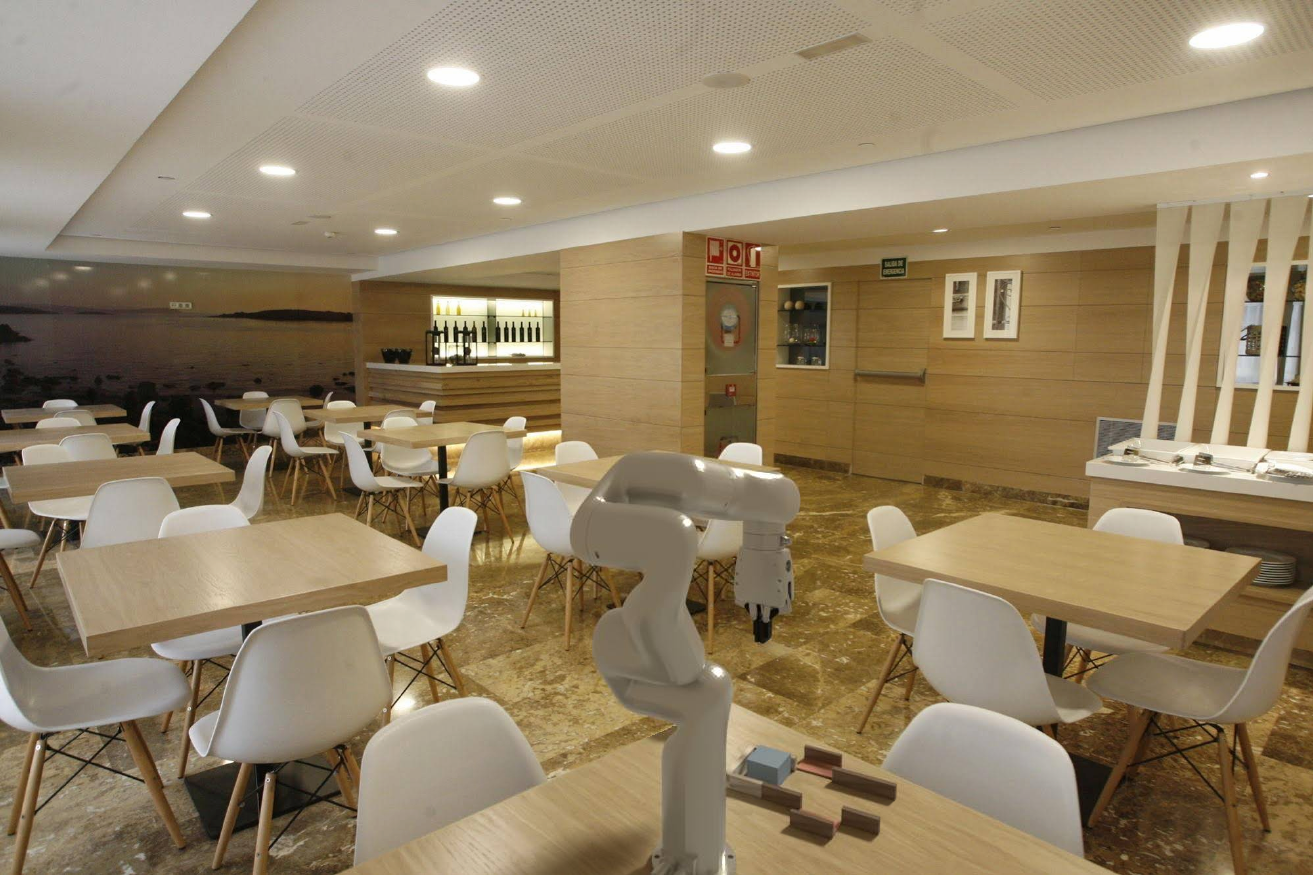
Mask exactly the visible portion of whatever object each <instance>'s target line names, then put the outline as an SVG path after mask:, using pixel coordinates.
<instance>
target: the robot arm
mask: <svg viewBox="0 0 1313 875" xmlns="http://www.w3.org/2000/svg"><path fill="white" fill-rule="evenodd" d="M800 508H801V494H800V491H799V488H798V486H797V484H796V483H795V482H794V481H793V480H792V479H791V478H789V477H785V475H784V474H783V473H781V472H778V471H773V470H752V469H747V468H745V467H740V466H735V465H734V466H733V465H729V464H724V463H721V462H716V461H713V460H708V459H706V458H703V457H700V456H697V455H693V454H688V453H681V452H680V453H679V452H678V453H677V452H661V451H660V452H658V451H645V450H635V451H631V452H629V453H627V454H625V455H623V456H622V457H621V458H619V459H618V460H617V461H616V462H615V463H614V464H612V466H611V467H610V468H609V469H608V470H607V471H606V473H605V474H604V475H603V476H602V477H601V478H600V480H599V481H598V482H597V484H596V485H595V487H593V489H592V490H591V491H590V493H589V494H588V495H587V496H586V497H585V499H584V500H583V501H582V502H581V504H580V505H579V506H578V509H577V510H576V512H575V514H574V515H573V518H572V521H571V525H570V529H569V542H570V543H569V544H570V546H571V547H570V548H571V550H572V551H573V553H574V555H575V556H576V557H577V558H578V559H579V560H580V561H582V562H584V563H585V564H589V565H593V566H597V567H604V568H611V569H615V570H616V569H617V570H625V571H631V572H639V573H643V574H644V575H643V578H642V579H641V580H642V581H640V582H639V583H638V584H637V585H635V587H634V588H632V590H631V591H630V593H629V594H628V595H627V597H626V599H625V600H624V602H623V605H622V607H615V608H612V609H610V610H608V611H606V612H605V613H604V614H603V615H602V616H601V617H600V618H599V620H598V621H597V623H596V625H595V627H594V631H593V633H592V634H593V635H592V643H591V646H592V647H591V648H592V657H593V662H594V664H595V666H596V667H595V668H596V669H597V671H598V673H599V674H600V676H601V678H602V679H603V681H604V682H605V683H606V685H607V687H608V688H609V690H610V692H612V694H613V696H614V697H615V699H616V700H617V702H618V703H619V705H621V706H622V707H623V708H624V709H626V711H627V710H628V711H630V712H632V713H635V714H637V715H642V716H645V717H651V718H654V719H658V720H663V721H665V722H668V723H672V724H673V725H675V726H676V728H677V729H675V731H674V732H672V733H671V734H670V735H669V737H668V738H667V739H666V741H665V742H664V743H663V744H664V745H663V747H662V751H661V840H660V841H659V842H658V843H657V844H656V845H655V846H654V848H653V851H652V855H651V867H652V871H651V872H650V874H649V875H734V874H735V871H736V868H737V856H736V853H735V851H734V849H733V848H732V846H731V845H730V844H729V843H728V842H727V839H726V838H727V835H726V833H727V787H726V771H727V741H728V740H727V739H728V738H727V737H728V728H729V722H730V715H731V709H732V705H733V704H732V703H733V698H734V683H733V678H732V677H731V674H730V673H729V672H728V670H727V669H725V668H724V667H723V666H722V665H720V664H718V663H717V662H713V661H711V660H708V659H706V650H705V647H704V643H703V640H702V638H701V636H700V633H699V632H698V629H697V627H696V625H695V621H693V618H692V616H691V614H690V611H689V610H688V607H687V604H686V600H687V596H688V592H689V588H690V585H691V582H692V578H693V573H694V569H695V565H696V559H697V555H698V548H699V535H698V530H697V527H696V525H695V523H694V522H693V520H692V519H691V518H690V517H693V518H701V519H709V520H717V521H725V522H727V521H729V522H742V545H740V546H739V548H738V551H737V555H736V556H737V557H736V563H735V569H734V581H733V590H734V591H733V592H734V596H735V599H734V603H735V605H738V606H739V607H741V608H744V609H745V610H746V611H747V612H748V614H749V615H750V619H751V620H752V623H753V624H752V626H753V627H752V636H753V637H754V643H756V644H757V643H758V644H759V643H760V644H762V645H763V644H765V643H767V642H768V641H770V639H771V638H772V636H773V619H775V618H776V617H777V616H778V615H789V614H790V613H792V612H793V607H792V603H791V602H793V601H794V599H795V579H794V568H793V560H792V556H791V550H790V548H787V546H792V544H793V538H792V537H789V536H787V532H786V525H788V524H790V523H792V522H793V521H794V520H795V519H796V518H797V516H798V515H799V511H800ZM763 606H764V607H763Z"/></svg>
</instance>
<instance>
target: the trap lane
mask: <svg viewBox="0 0 1313 875" xmlns="http://www.w3.org/2000/svg"><path fill="white" fill-rule="evenodd" d="M759 746H760V745H759V744H754V743H751V744H750V745H749V746H748V747H747V748H746V749H745V751H744V752H743V753H742V754H740V756H739V757H738V758H737V759H736V760H735V761H734V762H733V764H732V765H730V766H729V768H728V769H726V789H731V790H733V791H737V792H740V793H744V794H747V795H750V796H752V797H756V798H759V799H763V800H766V801H769V802H772V803H774V804H778V805H781V806H785V807H788V808H791V809H790V811H789V826H790V827H793V828H796V829H799V830H802V831H806V832H808V833H812V834H815V835H819V836H821V837H825V838H827V839H831V840H832V839H833V838H834V836H835V835H836V833H837V832H838V830H839V828H840V826H841V824H843V825H847V826H848V827H852V828H855V829H859V830H861V831H862V830H863V831H865V832H868V833H872V834H876V835H880V832H881V816H879V815H877V814H876V815H875V814H873V813H869V812H867V811H863V810H859V809H856V808H853V807H849V806H845V805H843V806H842V807H841V811H840V812H841V813H840V814H841V816H840V818H841V820H838V819H835V818H831V817H828V816H825V815H823V814H822V815H821V814H818V813H816V812H812V811H809V810H806V809H802V808H803V793H802V792H799V791H796V790H793V789H789V788H786V787H783V786H776V785H773V784H770V783H766V782H763V781H760V780H756V779H753V778H750V777H747V775H746V776H745V775H743V774H744V772H746V771H747V758H748V757H749V756H750V755H751V754H752V753H753V752H754V751H755V750H756V749H757V748H758V747H759ZM803 750H804V751H803V752H804V755H803V759H801V761H800V762H799V764H798V755H795V754H791V772H796V771H797V770H799V771H803V772H807V773H811V774H814V775H818V776H821V777H824V778H827V779H832V780H831V781H832V783H834V784H838V785H840V786H841V785H842V786H845V787H848V788H851V789H855V790H859V791H863V792H866V793H868V794H872V795H876V796H879V797H883V798H886V799H889V800H892V801H893V800H894V801H896V799H897V792H898V791H897V790H898V788H897V787H898V784H897V783H896V782H892V781H889V780H886V779H883V778H879V777H875V776H871V775H867V774H863V773H861V772H857V771H853V770H850V769H846V768H843V753H840V752H835V751H832V750H828V749H824V748H820V747H816V746H813V745H810V744H805V745H804V748H803Z"/></svg>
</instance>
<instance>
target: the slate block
mask: <svg viewBox="0 0 1313 875" xmlns="http://www.w3.org/2000/svg"><path fill="white" fill-rule="evenodd" d="M791 755H792V753H791V752H787V751H784V750H780V749H777V748H774V747H771V746H767V745H762V744H760V745H759V747H758V748H757V749H756V750H755V751H754V752H753V753H752V754H751V755H750V756H749V757H748V758H747V769H746V777H750V778H753V779H756V780H760V781H763V782H766V783H770V784H773V785H776V786H780V787H782V784H783V783H784V782H785V781H786V780H787V778H788V777H789V776H790V775H791V772H792V770H791Z"/></svg>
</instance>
